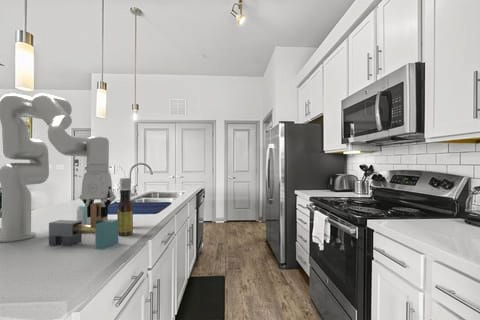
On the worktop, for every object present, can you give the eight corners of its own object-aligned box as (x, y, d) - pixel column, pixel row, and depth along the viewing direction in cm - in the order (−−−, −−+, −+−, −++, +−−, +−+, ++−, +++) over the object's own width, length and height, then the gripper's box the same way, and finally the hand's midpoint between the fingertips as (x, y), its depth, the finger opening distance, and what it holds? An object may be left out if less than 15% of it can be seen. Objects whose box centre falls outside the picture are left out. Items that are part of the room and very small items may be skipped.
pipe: (126, 229, 126) (126, 166, 126) (115, 228, 127) (115, 166, 128) (133, 226, 131) (133, 166, 132) (122, 226, 132) (122, 166, 133)
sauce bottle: (120, 232, 119) (120, 188, 119) (134, 232, 120) (134, 188, 120) (114, 236, 112) (115, 190, 113) (129, 236, 113) (130, 189, 113)
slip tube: (67, 233, 100) (67, 203, 101) (75, 231, 104) (75, 201, 104) (105, 235, 98) (105, 204, 98) (112, 232, 102) (112, 202, 102)
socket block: (95, 248, 96) (95, 223, 96) (109, 242, 104) (109, 219, 104) (104, 249, 95) (105, 224, 96) (118, 242, 103) (118, 219, 104)
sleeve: (47, 245, 100) (47, 223, 101) (60, 241, 106) (60, 219, 106) (70, 246, 99) (71, 223, 99) (82, 242, 105) (82, 220, 105)
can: (77, 230, 124) (77, 204, 124) (94, 228, 127) (94, 203, 127) (75, 233, 118) (75, 206, 118) (93, 232, 121) (93, 205, 121)
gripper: (70, 169, 99) (69, 218, 98) (111, 169, 96) (111, 219, 96) (85, 169, 106) (84, 214, 106) (123, 169, 103) (123, 215, 103)
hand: (97, 216), depth 101 cm, fingers open, 4 cm apart
